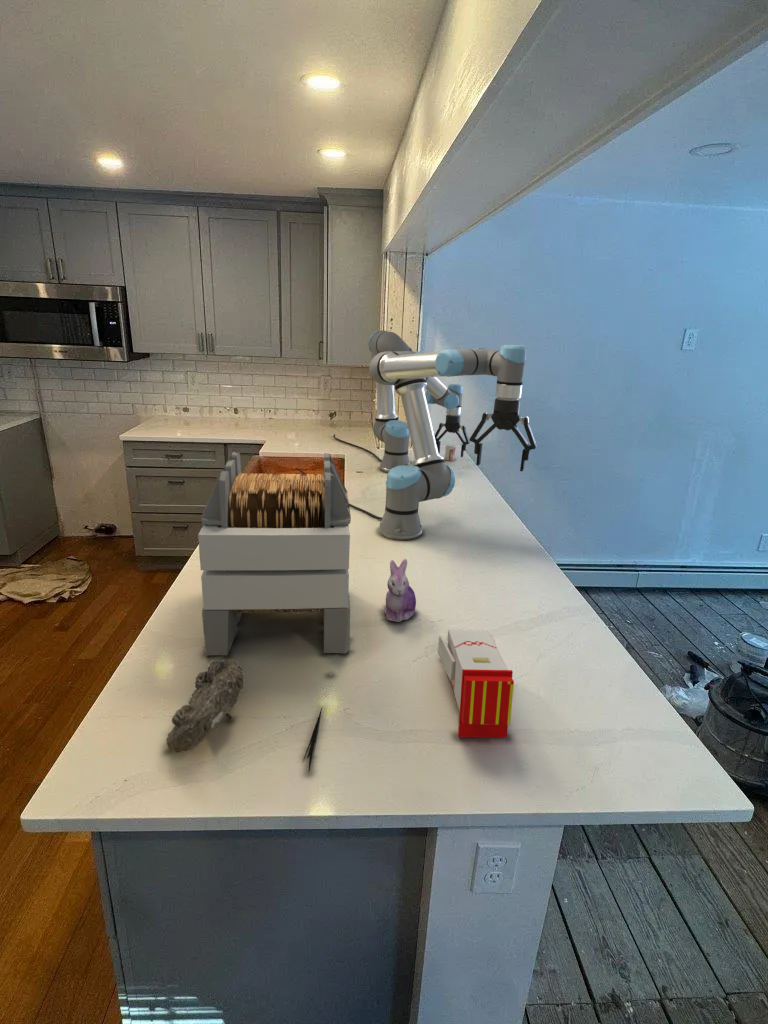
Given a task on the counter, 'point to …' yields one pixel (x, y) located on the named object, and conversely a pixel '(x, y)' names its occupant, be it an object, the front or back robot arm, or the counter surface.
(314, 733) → the feather
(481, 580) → the counter surface
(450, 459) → the small box
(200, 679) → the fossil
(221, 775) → the counter surface
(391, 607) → the figurine
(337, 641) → the record storage crate
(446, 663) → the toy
